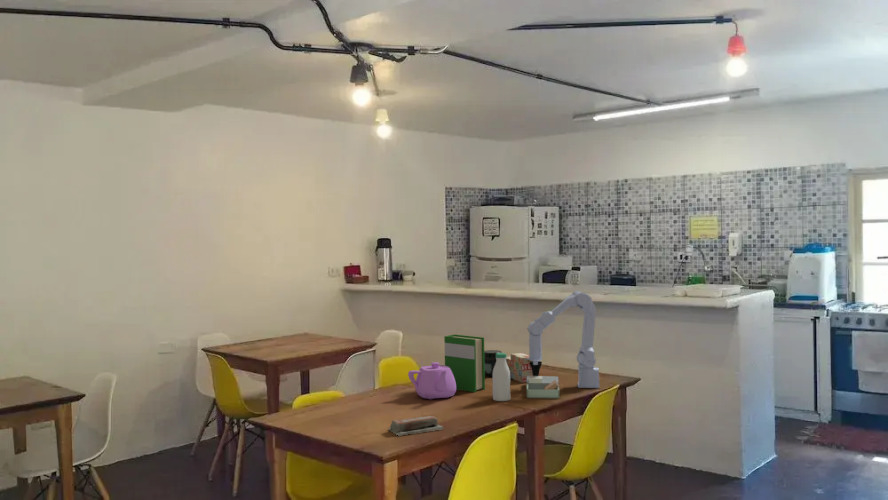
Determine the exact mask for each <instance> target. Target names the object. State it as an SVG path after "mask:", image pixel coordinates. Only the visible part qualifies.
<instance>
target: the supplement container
mask: <svg viewBox="0 0 888 500" xmlns="http://www.w3.org/2000/svg"><path fill="white" fill-rule="evenodd" d="M496 353H503V352H502V351H501V350H498V349H487V350H484V361H485V377H488V378H491V377H492V378H493V369H494V366H495V364H496Z"/></svg>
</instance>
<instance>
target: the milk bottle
mask: <svg viewBox="0 0 888 500" xmlns="http://www.w3.org/2000/svg"><path fill="white" fill-rule="evenodd" d="M506 357H507V353H505V352H502V353H496V364H495V366H494V369H493V377H492V399H493V401H496V402H508V401H510V400H511V398H512V397H511V395H512V393H511V390H512V389H511V378H510V370H509V367H508V365H507V363H506Z"/></svg>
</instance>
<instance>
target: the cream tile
mask: <svg viewBox="0 0 888 500" xmlns="http://www.w3.org/2000/svg"><path fill="white" fill-rule="evenodd" d="M542 376H543V375H539V376H529V383H542Z"/></svg>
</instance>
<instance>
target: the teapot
mask: <svg viewBox="0 0 888 500" xmlns="http://www.w3.org/2000/svg"><path fill="white" fill-rule="evenodd" d="M416 374H417V375H416ZM407 375H408V378H409V380H410V381H411V383H412V384H413V385H414V387H415V389H414V390H415V391H416V393H417V395H418V396H419V397H420V398H423V399H427V400H434V399H442V398H443V399H449V397H453V396H454V395H455V394H456V392H457V389H456V382H455V378H454V376H453V373H452V371H451V369H450V368H449V367H448V366H445V364H444V365H442V364H440V362H438V361H434V362H431V365H425V366H420V368H419V370H414V369H413V370H409V371H408V373H407ZM414 375H416V378H415V377H414Z"/></svg>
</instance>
